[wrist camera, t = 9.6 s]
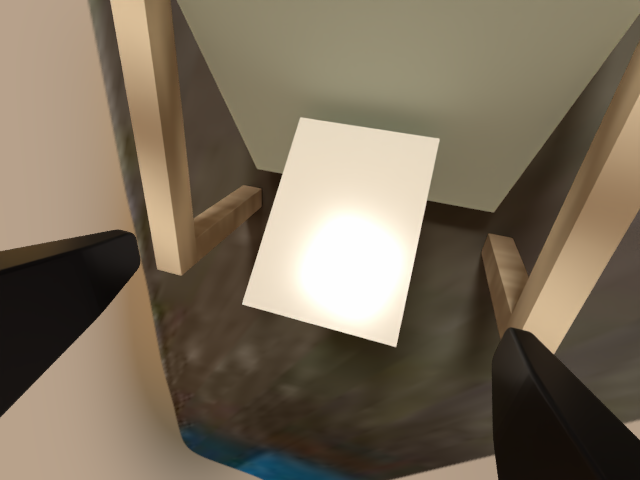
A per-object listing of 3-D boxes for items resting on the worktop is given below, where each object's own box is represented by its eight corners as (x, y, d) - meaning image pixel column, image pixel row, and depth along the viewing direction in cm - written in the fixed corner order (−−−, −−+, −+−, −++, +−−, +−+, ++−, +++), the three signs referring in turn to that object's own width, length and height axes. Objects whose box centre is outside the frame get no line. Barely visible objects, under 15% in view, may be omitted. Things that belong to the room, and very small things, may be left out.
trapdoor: (162, -86, 9) (145, -65, 9) (679, -77, 7) (684, -47, 7) (263, 154, 19) (257, 168, 19) (495, 194, 16) (493, 212, 16)
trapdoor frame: (237, -77, 15) (78, -182, 9) (637, -68, 12) (893, -225, 5) (244, 203, 22) (157, 269, 15) (504, 257, 19) (542, 372, 12)
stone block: (439, 138, 12) (395, 347, 10) (419, 194, 17) (388, 342, 15) (300, 117, 13) (242, 304, 11) (319, 176, 18) (280, 312, 16)
